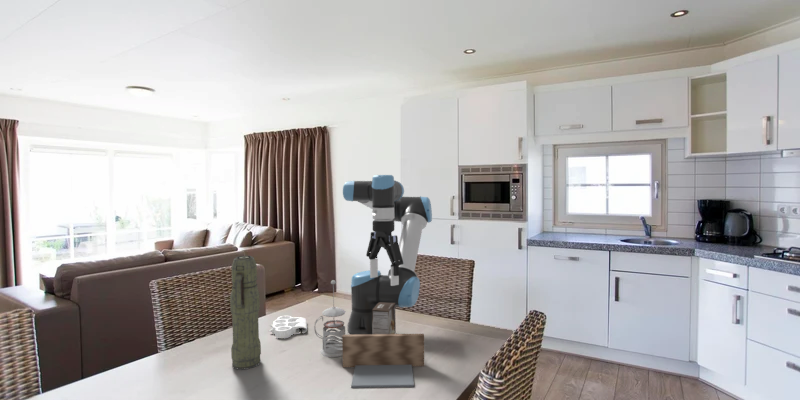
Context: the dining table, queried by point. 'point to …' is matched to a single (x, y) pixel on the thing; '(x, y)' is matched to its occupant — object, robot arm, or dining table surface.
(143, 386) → the dining table surface
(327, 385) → the dining table surface
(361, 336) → the walnut board
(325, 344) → the french press
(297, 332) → the white flat lobed piece
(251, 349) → the green canvas bag
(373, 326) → the coffee box
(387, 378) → the grey mat
